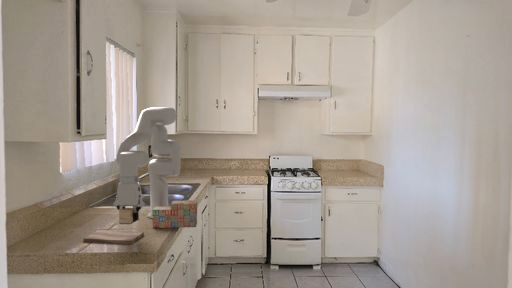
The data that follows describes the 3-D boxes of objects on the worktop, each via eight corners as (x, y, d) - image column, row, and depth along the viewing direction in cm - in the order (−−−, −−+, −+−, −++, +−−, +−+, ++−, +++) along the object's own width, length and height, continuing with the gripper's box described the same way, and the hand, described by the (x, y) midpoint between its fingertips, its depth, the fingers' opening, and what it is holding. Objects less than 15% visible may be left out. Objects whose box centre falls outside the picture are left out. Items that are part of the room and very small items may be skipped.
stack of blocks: (152, 228, 171) (152, 203, 170) (155, 224, 177) (154, 200, 176) (196, 227, 172) (195, 203, 171) (197, 223, 178) (197, 200, 177)
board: (99, 233, 163) (99, 229, 162) (143, 235, 159) (143, 232, 159) (83, 241, 151) (83, 238, 151) (130, 244, 148) (130, 240, 147)
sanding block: (128, 219, 158) (128, 206, 158) (138, 219, 158) (138, 206, 157) (119, 224, 150) (119, 210, 150) (130, 224, 150) (129, 210, 149)
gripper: (150, 179, 156) (151, 219, 157) (115, 178, 158) (116, 217, 159) (142, 181, 148) (143, 223, 149) (106, 180, 151) (106, 222, 152)
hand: (129, 220), depth 154 cm, fingers closed on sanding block, 5 cm apart
